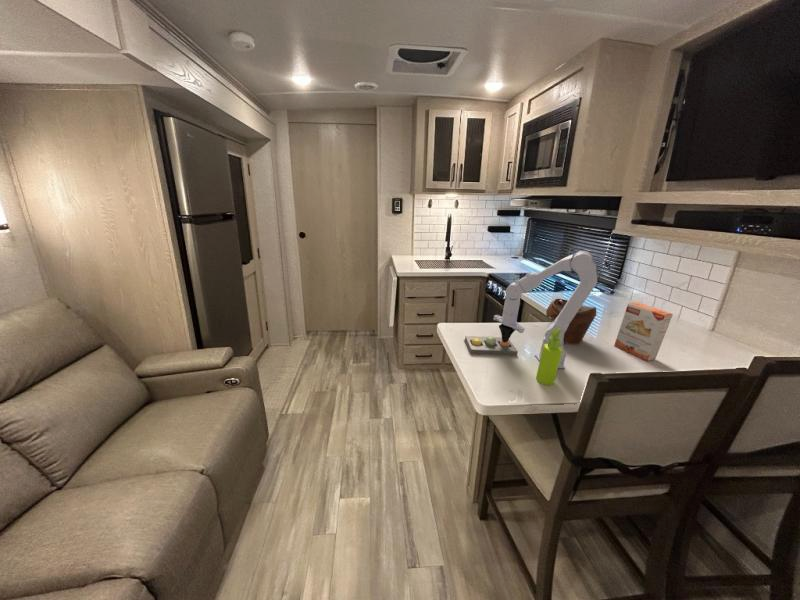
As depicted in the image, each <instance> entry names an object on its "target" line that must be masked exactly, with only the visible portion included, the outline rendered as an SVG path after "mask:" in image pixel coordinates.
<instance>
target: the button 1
mask: <svg viewBox="0 0 800 600" xmlns="http://www.w3.org/2000/svg"><path fill="white" fill-rule="evenodd" d="M481 342H482V340H481V339H478V338H473V339H472V343H471V344H472V345H478V346H481Z"/></svg>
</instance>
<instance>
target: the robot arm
mask: <svg viewBox="0 0 800 600" xmlns="http://www.w3.org/2000/svg"><path fill="white" fill-rule="evenodd" d="M572 270H573V271H574V272H575V273H576V274H577V275H578V278H579V280H580V281H579V283H578V285H577V286H576V288H575V289H574V291H573V292H572V294H571V295H570V297H569V298H568V299H567V300H568V301H567V303H566V304H565V306H564V308H563V309H562V311H561V312H560V314H559V315H558V316H557V317H556V319H555V320H554V321H553V322H551V321H550V323H548V325H547V328H546V329H547V330H546V331H545V333H544V336H543V338H542V342H541V346H540V351H539V353H536V354H535V353H534V356H535V358H537V360H538V361H539V362H540V359H541V354H542V350H543V346H544V345H545V344H548V343H549V338H550V337H551V336H553V335H552V334H550V332H551V331H552V330H553V329H555V328H558V329H561V330H562V331H561V332H560V333H559V337H558V338H560V340H561V341H560V345H559V347H560V348H562V354H561V358H560V362H559V365H558V369H566V366H565V361H566V358H567V351H566V350H565V348H564V343H565V342H564V340H563V339H564V333H565V332H566V330H567V328H568V326H569V324H570V322H571V321H572V319H573V318H574V316H575V315H576V313H577V312H578V310H579V309H580V307H581V306H582V305H583V306H584V303H585V302H586V300H587V299H588V297H590V296H589V295H590V294H591V292H592V291H593V290H594V289H595V287H596V285H597V284H598V275H597V274H598V273H597V266H596V261H595V258H594V257H593V255H592V253H590V251H587V250H578V251H577V252H575V253H574V254H570V255H568V256H566V257H564V258H561V259H560V260H558V261H556V262H555V263H552V264H551V265H549V266H548V267H546V268H545V269H542V270H541V271H539V272H534V271H533V272H531V273H530V272H527V273H526V274H525V276H523V277H521V278H520V279H515V280H514V281H513V282H512V283H510V284H509V285H508V286H507V287H506V289H505V300H504V305H503V310H502V316H501V315H499V314H495V315H493V321H497V322H499V323H500V324H499V325H498V328H499V331H500V334H501V338H502V341H503V342H508V340H510V337H512V334H513V333H514V332H515V331H517V332H518V333H519V334H522V333H523V334H524V332H525V327H523V326H522V325H521V324H520V323H518V321H517V320H518V315H519V309H520V304H521V298H522V295H523V294H526V293H529V292H530V291H532V290H535V289H536V288H538V287H540V286H541V285H542V282H543V281H544V280H546V279H549V278H550V277H552V276H554V275H556V274H559V273H561V272H563V271H565V272H572Z"/></svg>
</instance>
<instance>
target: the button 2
mask: <svg viewBox="0 0 800 600" xmlns="http://www.w3.org/2000/svg"><path fill="white" fill-rule="evenodd" d="M509 340H510V339H509ZM509 340H508V342H503V341H502V339H501V340H500V344H499V345H500V346H501V347H509V345H510V341H511V340H510V341H509Z"/></svg>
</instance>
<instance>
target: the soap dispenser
mask: <svg viewBox="0 0 800 600" xmlns="http://www.w3.org/2000/svg"><path fill="white" fill-rule="evenodd" d="M561 331H562V330H561V329H558V328H555V329H553V330H552V331H551V332H550V334H552V335H553V336H551V337H550V338H549V343H548V344H545V345H544V346H543V350H542V354H541V359H540V361H539V363H538V368H537V372H536V375H535V379H536V381H537V382H538V383H540V384H542V385H544V386H545V385H546V386H552V385H554V384H555V381H556V380H555V379H556V377H557V372H558V370H559V368H558V365H559V362H560V358H561V354H562V348H560V347H559V345H560V341H561V340H560V338H558V337H559V333H560V332H561Z"/></svg>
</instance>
